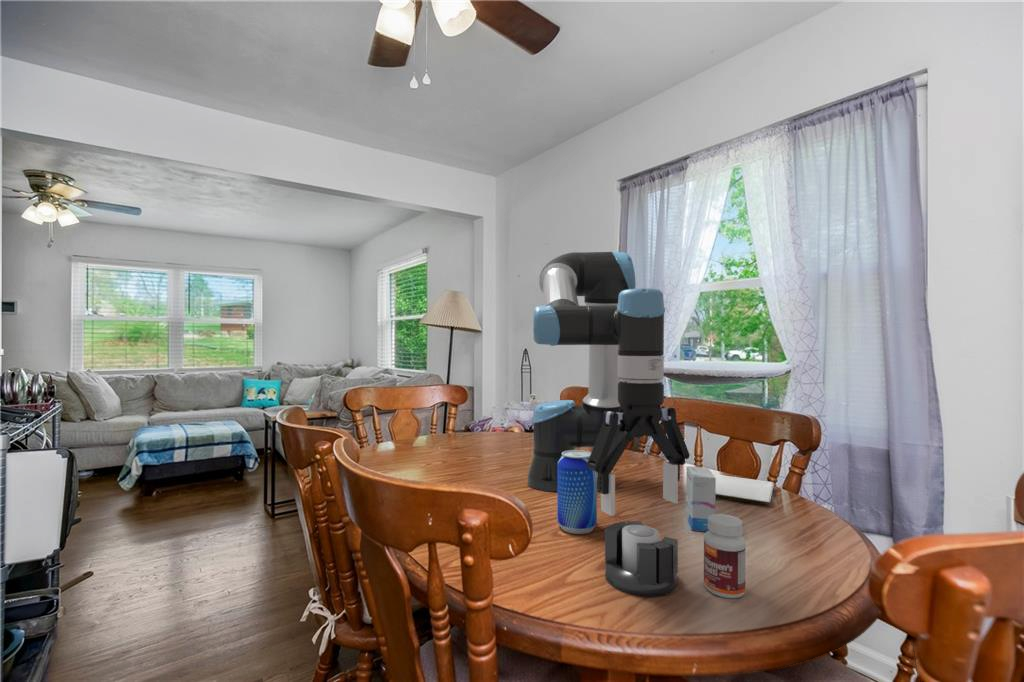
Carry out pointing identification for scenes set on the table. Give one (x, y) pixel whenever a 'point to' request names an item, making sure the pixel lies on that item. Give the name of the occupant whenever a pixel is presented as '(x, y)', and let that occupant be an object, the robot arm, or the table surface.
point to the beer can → (576, 493)
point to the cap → (635, 544)
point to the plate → (743, 489)
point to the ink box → (699, 497)
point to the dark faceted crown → (641, 564)
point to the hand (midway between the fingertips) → (640, 506)
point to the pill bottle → (724, 556)
